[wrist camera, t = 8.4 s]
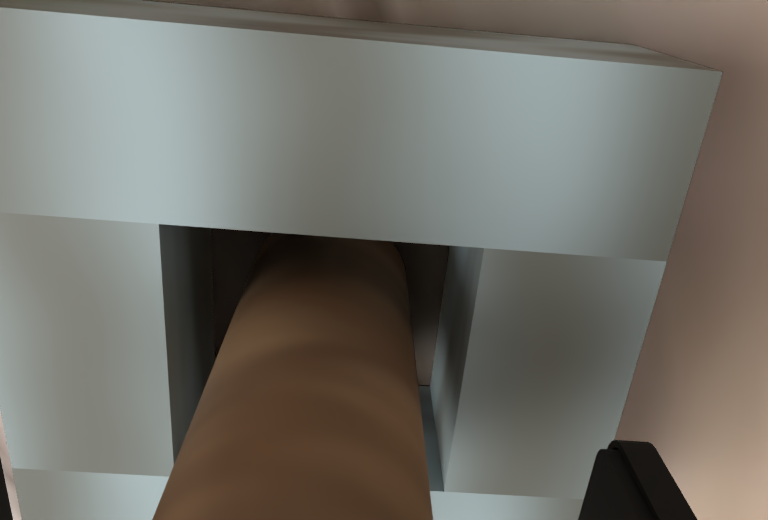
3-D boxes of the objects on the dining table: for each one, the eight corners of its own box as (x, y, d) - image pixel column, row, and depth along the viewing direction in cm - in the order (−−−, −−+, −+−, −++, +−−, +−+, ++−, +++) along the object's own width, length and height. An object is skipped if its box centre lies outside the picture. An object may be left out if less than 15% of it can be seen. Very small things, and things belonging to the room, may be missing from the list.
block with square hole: (634, 44, 14) (722, 72, 11) (529, 487, 20) (565, 605, 16) (39, -9, 14) (-81, -1, 10) (98, 463, 19) (34, 580, 15)
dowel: (414, 217, 16) (504, 752, 5) (398, 353, 18) (442, 977, 7) (252, 205, 16) (-12, 737, 5) (252, 344, 17) (53, 973, 7)
